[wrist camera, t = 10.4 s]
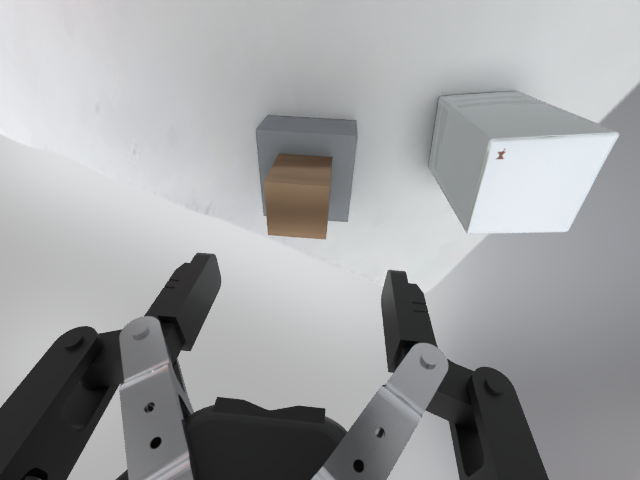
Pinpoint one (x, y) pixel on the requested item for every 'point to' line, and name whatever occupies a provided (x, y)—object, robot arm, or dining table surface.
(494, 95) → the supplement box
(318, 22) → the dining table surface
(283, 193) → the walnut block
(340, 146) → the base
